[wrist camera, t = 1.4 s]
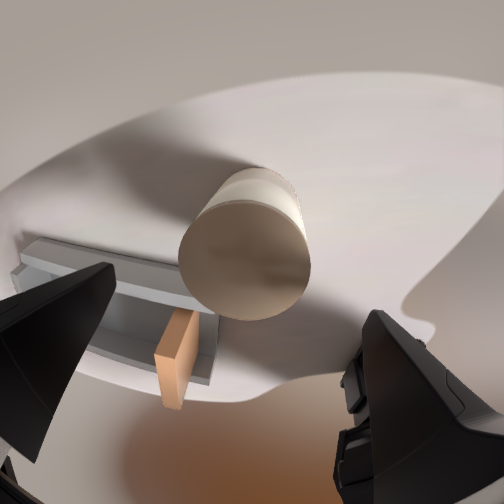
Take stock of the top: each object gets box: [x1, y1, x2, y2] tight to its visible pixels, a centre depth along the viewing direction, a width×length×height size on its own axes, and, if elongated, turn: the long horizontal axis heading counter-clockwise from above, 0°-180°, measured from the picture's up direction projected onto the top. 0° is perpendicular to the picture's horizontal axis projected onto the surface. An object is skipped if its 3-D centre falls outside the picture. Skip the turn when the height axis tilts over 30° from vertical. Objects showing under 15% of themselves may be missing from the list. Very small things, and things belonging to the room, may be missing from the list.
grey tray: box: [10, 237, 220, 386], centre depth 19 cm, size 17×9×5 cm, turn 82°
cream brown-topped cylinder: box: [178, 168, 311, 321], centre depth 13 cm, size 5×5×7 cm
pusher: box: [154, 307, 200, 410], centre depth 18 cm, size 1×6×6 cm, turn 172°
